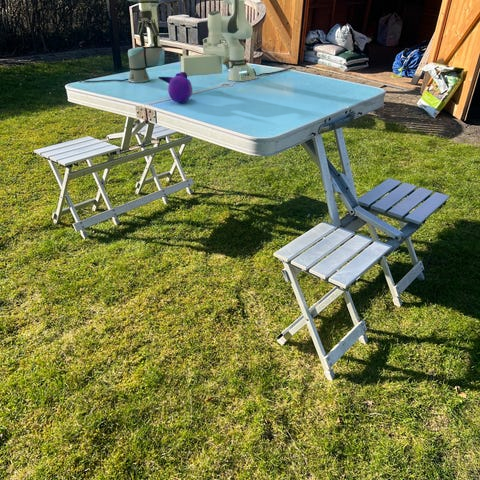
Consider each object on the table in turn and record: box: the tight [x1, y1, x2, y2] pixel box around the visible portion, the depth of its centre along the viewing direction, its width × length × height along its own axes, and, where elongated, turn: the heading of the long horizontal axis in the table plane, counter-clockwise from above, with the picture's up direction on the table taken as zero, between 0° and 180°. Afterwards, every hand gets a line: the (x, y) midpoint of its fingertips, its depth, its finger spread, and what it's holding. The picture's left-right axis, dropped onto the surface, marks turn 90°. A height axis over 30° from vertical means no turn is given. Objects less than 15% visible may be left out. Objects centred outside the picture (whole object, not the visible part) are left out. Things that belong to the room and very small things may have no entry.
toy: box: [158, 71, 193, 103], centre depth 279 cm, size 16×18×27 cm
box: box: [180, 54, 223, 77], centre depth 288 cm, size 26×6×11 cm, turn 114°
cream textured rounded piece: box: [222, 55, 230, 71], centre depth 369 cm, size 21×12×15 cm, turn 120°
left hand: (149, 47), depth 290 cm, fingers open, 13 cm apart
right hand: (216, 63), depth 292 cm, fingers open, 7 cm apart
